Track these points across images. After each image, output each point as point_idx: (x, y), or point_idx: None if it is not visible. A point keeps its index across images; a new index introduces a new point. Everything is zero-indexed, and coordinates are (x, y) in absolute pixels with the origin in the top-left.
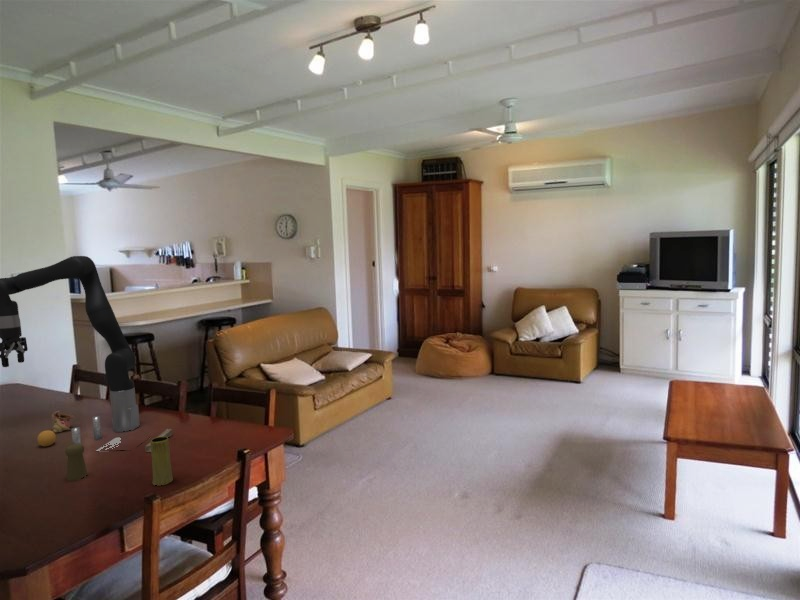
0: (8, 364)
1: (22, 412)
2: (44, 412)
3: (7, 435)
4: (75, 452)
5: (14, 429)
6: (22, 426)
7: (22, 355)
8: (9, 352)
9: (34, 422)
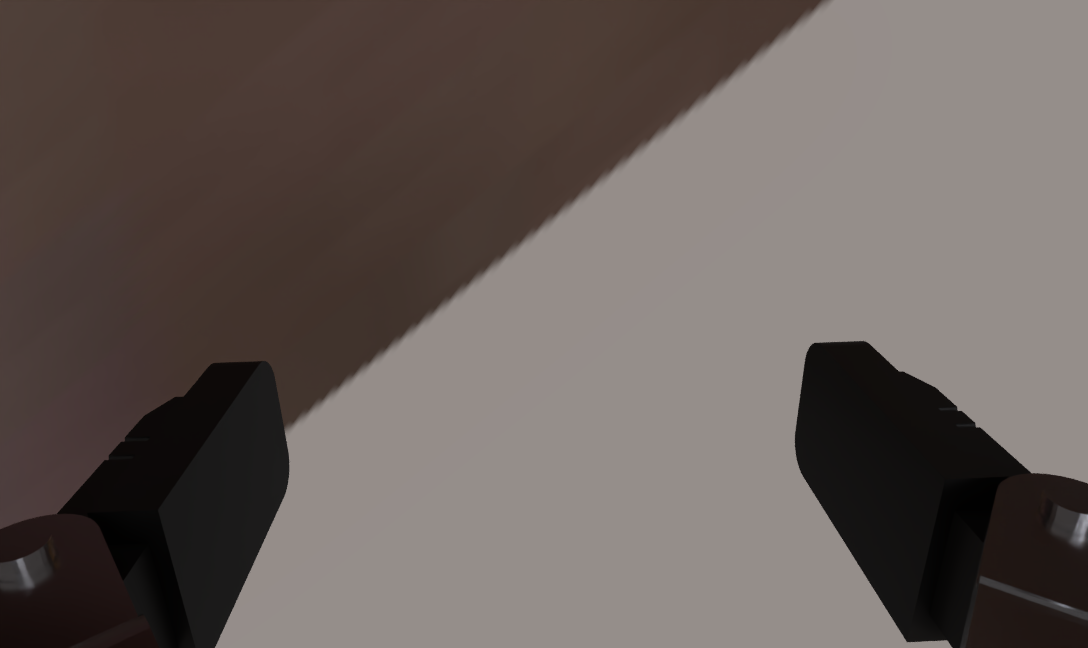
0: (847, 361)
1: (86, 462)
2: (45, 287)
3: (611, 164)
4: None
5: (474, 216)
6: (403, 205)
7: (181, 469)
8: (1054, 600)
9: (300, 177)
